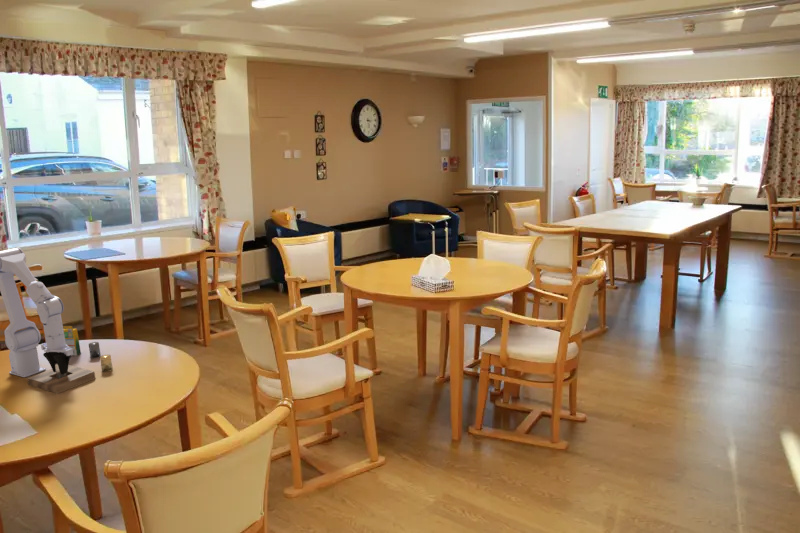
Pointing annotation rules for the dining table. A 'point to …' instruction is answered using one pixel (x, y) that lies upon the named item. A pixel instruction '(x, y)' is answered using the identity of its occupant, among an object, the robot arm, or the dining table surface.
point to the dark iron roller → (94, 350)
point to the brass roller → (106, 363)
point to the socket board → (61, 379)
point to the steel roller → (59, 372)
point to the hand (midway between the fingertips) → (60, 372)
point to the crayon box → (72, 339)
